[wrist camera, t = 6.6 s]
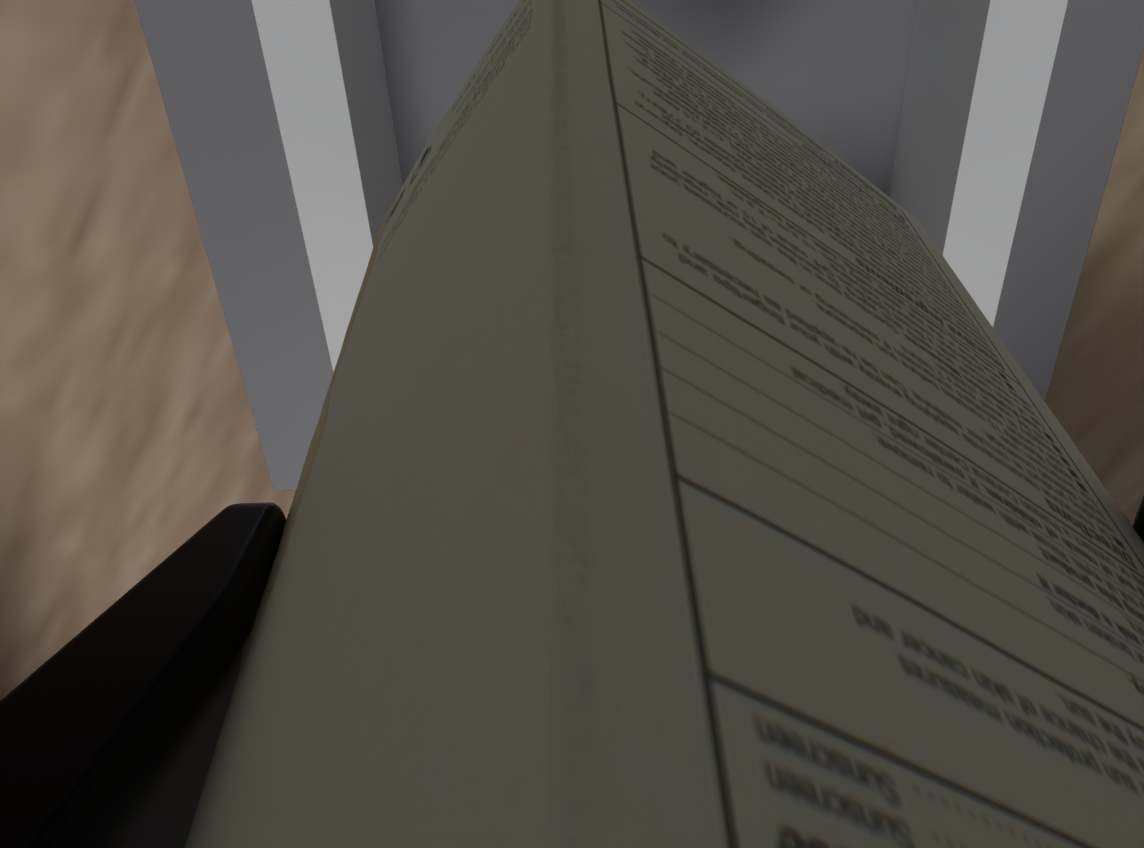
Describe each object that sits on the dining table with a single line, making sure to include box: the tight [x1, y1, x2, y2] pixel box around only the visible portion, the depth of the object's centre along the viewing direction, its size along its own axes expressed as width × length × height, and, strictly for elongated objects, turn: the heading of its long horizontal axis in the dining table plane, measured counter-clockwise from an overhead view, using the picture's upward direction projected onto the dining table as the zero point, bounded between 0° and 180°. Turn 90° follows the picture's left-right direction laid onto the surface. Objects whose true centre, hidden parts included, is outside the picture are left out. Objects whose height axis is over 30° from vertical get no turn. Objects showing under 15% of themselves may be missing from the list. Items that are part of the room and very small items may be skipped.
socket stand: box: [135, 0, 1144, 490], centre depth 16 cm, size 16×16×4 cm
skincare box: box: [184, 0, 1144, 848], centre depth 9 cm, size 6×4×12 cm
